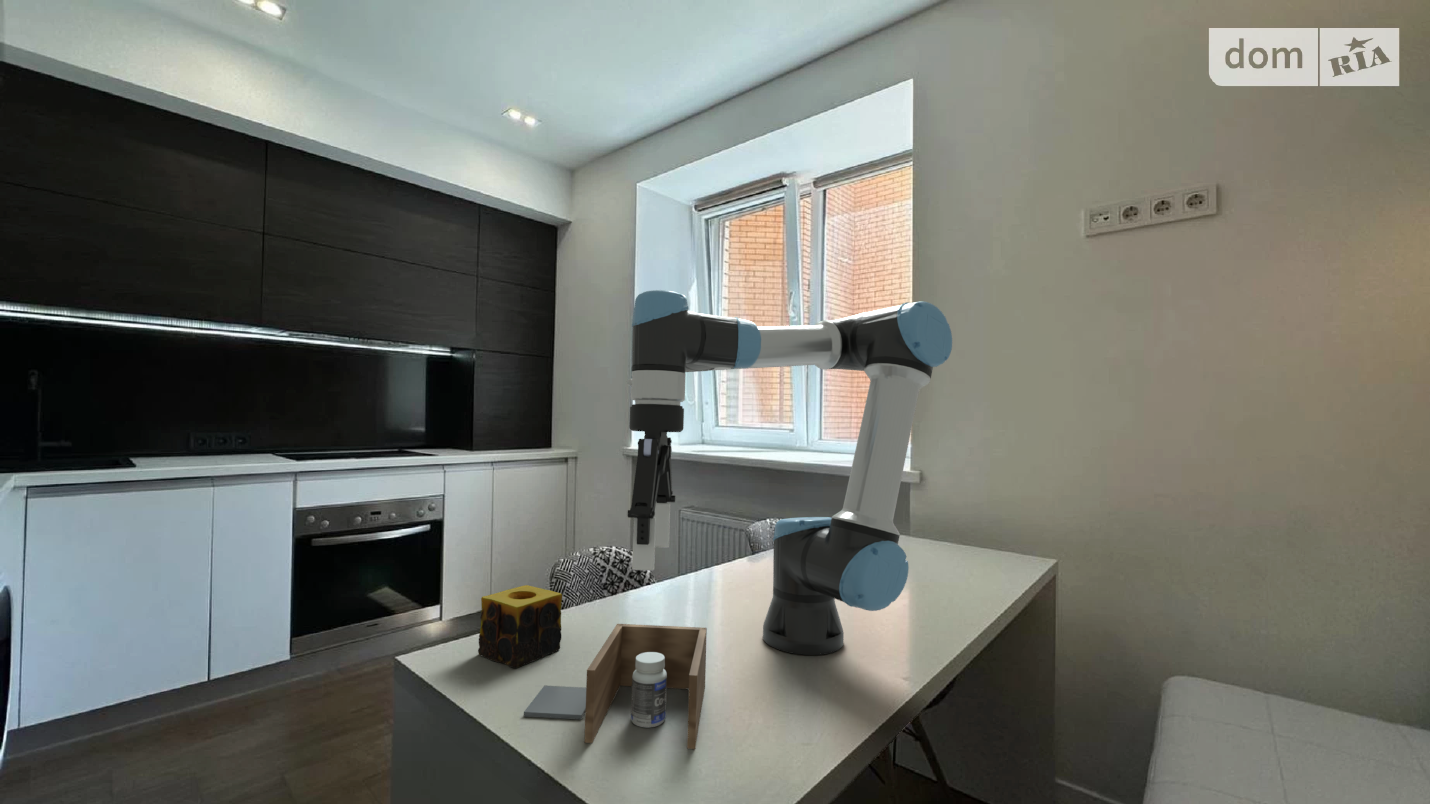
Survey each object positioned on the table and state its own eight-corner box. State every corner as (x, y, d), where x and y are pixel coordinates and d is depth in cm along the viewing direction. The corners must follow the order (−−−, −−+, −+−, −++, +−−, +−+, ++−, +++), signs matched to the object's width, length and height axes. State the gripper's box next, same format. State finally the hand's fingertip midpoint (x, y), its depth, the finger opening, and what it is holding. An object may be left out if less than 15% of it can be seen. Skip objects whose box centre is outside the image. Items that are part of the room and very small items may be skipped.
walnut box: (705, 687, 88) (706, 627, 89) (695, 749, 71) (697, 675, 72) (615, 682, 89) (617, 623, 90) (584, 742, 72) (586, 669, 73)
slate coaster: (596, 692, 86) (596, 688, 86) (581, 719, 78) (581, 714, 78) (544, 689, 86) (544, 685, 86) (523, 716, 78) (523, 711, 78)
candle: (514, 670, 93) (517, 608, 93) (475, 656, 98) (478, 596, 98) (562, 650, 101) (564, 593, 102) (524, 638, 107) (526, 583, 107)
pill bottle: (659, 730, 76) (661, 665, 76) (625, 726, 76) (627, 662, 77) (669, 713, 80) (671, 652, 80) (637, 709, 81) (639, 648, 81)
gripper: (646, 406, 93) (641, 538, 92) (609, 398, 68) (602, 580, 67) (692, 407, 92) (688, 540, 91) (672, 400, 67) (666, 582, 66)
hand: (652, 557), depth 79 cm, fingers open, 13 cm apart
